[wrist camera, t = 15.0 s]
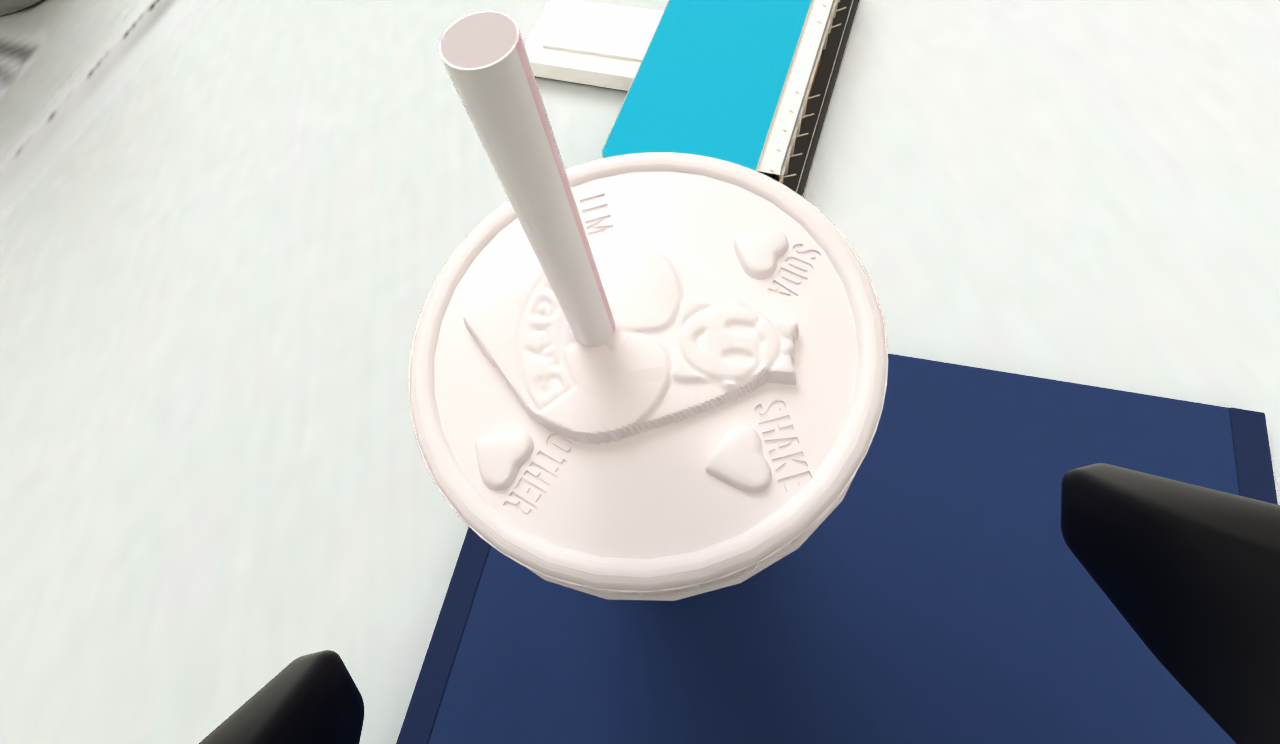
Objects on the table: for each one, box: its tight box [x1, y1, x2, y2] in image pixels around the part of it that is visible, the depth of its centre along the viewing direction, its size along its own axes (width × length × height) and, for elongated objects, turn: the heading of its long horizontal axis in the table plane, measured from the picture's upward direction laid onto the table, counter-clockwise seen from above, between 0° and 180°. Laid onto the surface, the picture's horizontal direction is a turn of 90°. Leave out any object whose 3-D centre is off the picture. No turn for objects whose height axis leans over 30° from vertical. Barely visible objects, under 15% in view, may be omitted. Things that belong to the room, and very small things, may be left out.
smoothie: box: [408, 10, 888, 601], centre depth 10 cm, size 6×6×14 cm
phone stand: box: [524, 0, 859, 196], centre depth 23 cm, size 20×12×2 cm, turn 162°
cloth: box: [396, 354, 1278, 744], centre depth 15 cm, size 16×20×1 cm
